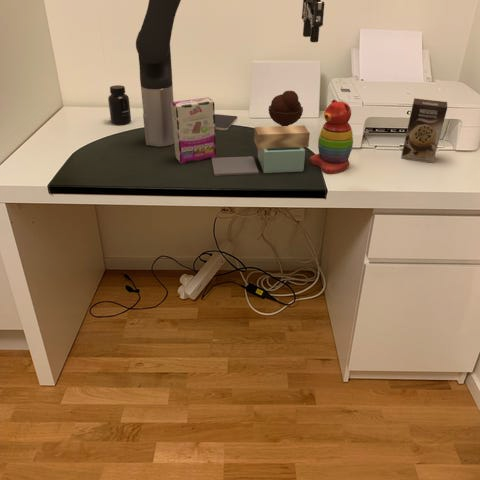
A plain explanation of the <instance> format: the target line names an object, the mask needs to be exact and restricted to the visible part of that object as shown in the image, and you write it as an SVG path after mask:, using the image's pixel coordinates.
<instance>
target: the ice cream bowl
mask: <svg viewBox="0 0 480 480" xmlns="http://www.w3.org/2000/svg"><path fill="white" fill-rule="evenodd" d="M303 112H304V107H303V106H302V104H301V102H300V101H299V96H298V94H297V92H295V91H293V90H285V91H283V93H282V94H278V95H275V96H274V97H273V98H272V100H271V103H270V105H268V114H269V116H270V119H272V121H273V122H274V123H276V124H278V126H292V125H293V124H295V123H297V122H298V121H299V120H300V119H301V117H302V115H303Z"/></svg>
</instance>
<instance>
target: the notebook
mask: <svg viewBox="0 0 480 480" xmlns="http://www.w3.org/2000/svg"><path fill="white" fill-rule="evenodd" d="M237 120H238V116H237V115H229V114H218V113H217V114H216V113H215V130H217V129H218V130H219V131H227V130H229V129H230V127H231V126H232V125H233V124H234V123H235V121H237Z"/></svg>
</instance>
